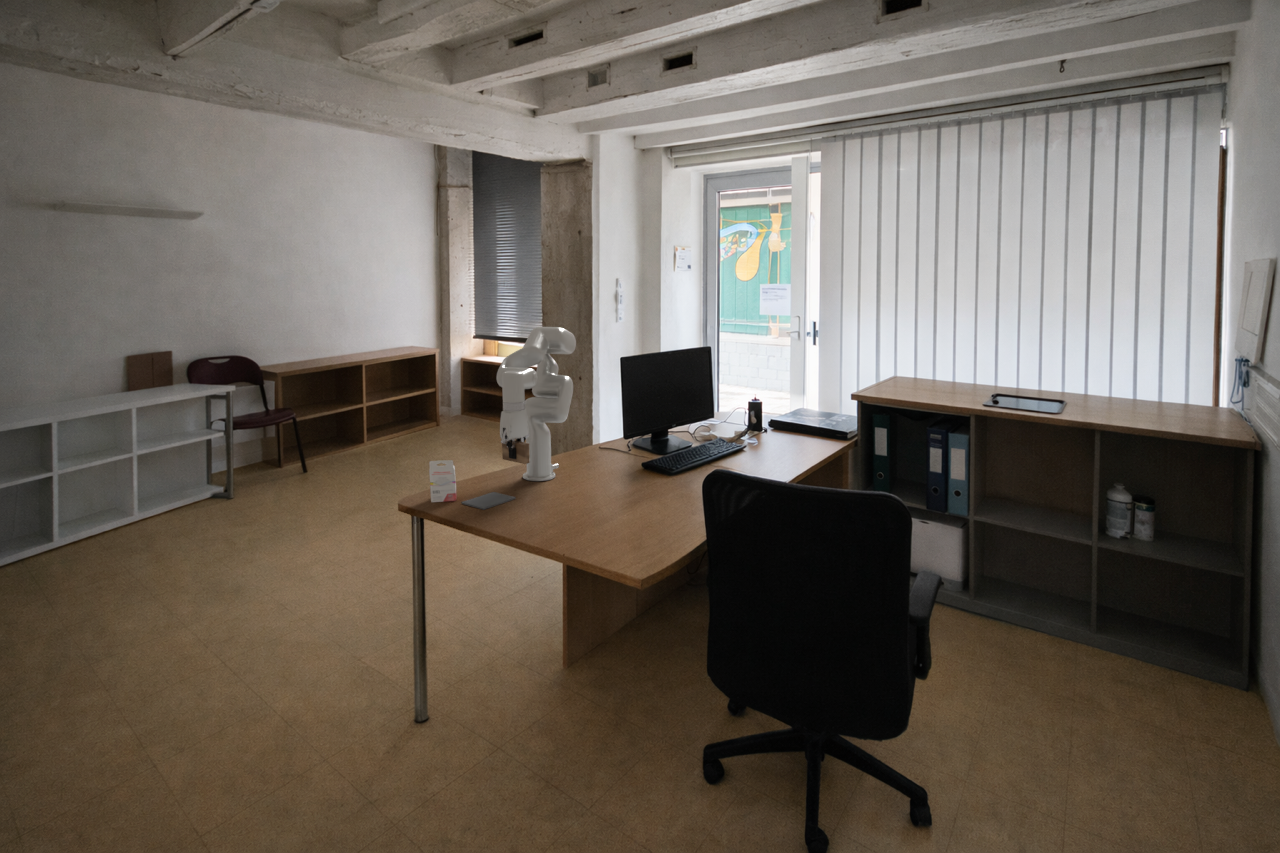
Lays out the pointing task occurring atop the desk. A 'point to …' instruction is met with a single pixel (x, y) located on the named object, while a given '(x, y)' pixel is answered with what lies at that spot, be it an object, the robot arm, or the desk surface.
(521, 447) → the tile
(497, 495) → the mat
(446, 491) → the ink cartridge box
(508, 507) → the desk surface
